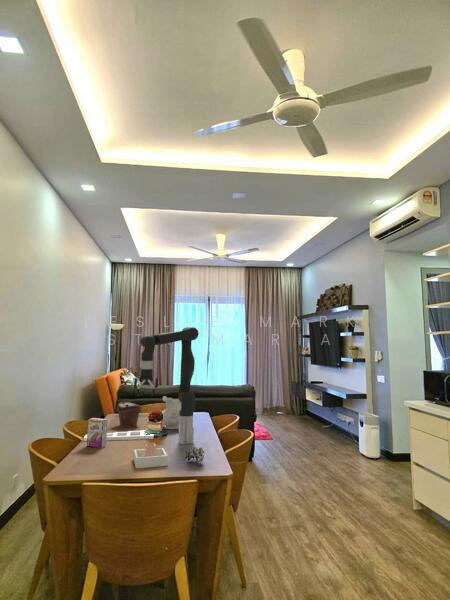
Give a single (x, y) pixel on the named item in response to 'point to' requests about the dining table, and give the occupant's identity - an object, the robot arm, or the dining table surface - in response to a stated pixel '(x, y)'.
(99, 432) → the candy bar box
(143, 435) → the holder
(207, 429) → the dining table surface
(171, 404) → the ceramic pitcher
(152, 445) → the tub
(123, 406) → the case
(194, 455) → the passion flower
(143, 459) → the tray
